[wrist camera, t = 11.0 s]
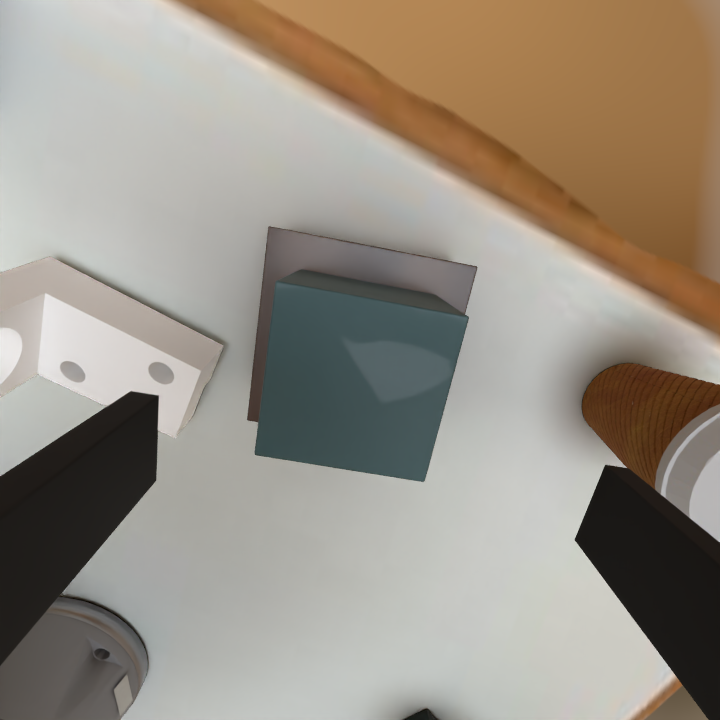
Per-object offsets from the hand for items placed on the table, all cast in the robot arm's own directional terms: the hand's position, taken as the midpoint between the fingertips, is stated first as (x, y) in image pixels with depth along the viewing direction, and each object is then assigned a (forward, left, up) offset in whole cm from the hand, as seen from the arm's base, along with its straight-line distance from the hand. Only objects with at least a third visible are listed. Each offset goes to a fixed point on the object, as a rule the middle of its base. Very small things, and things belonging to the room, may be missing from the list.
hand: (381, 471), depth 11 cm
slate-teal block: (-1, 0, -13) cm, 13 cm away
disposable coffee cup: (+21, -2, -19) cm, 28 cm away
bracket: (-18, -5, -19) cm, 26 cm away
